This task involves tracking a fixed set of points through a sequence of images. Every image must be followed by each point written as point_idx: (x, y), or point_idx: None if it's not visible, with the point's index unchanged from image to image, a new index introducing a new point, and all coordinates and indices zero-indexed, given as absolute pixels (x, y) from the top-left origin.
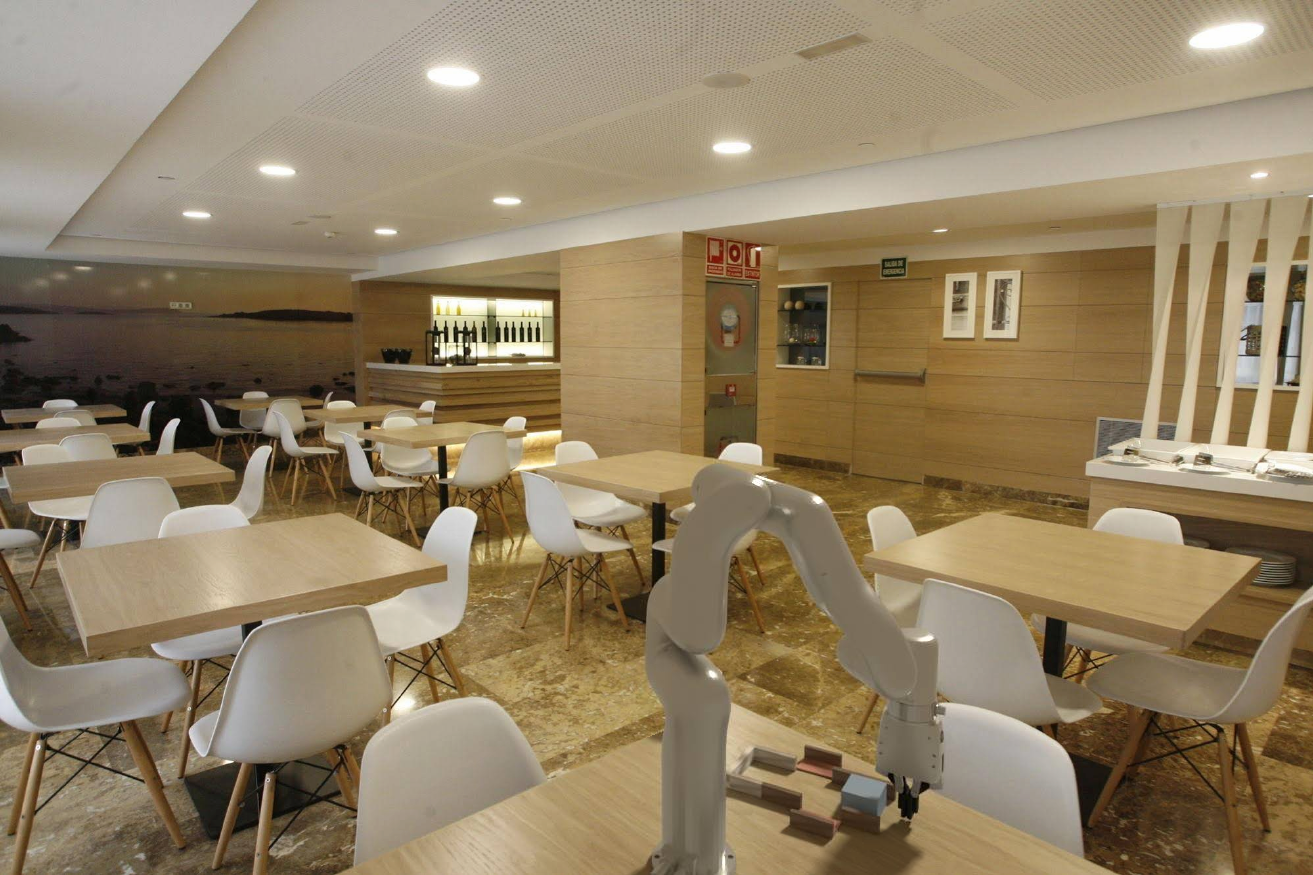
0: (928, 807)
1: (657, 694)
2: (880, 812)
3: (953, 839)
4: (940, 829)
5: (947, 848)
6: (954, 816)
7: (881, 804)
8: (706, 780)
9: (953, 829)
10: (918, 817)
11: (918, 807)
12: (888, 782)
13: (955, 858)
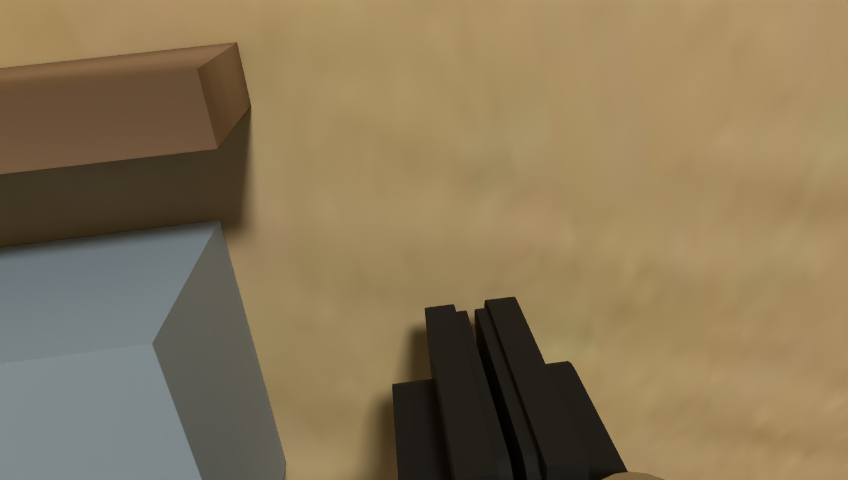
0: (567, 25)
1: None
2: (259, 407)
3: (791, 330)
4: (700, 278)
5: (753, 428)
6: (806, 27)
7: (244, 429)
8: None
9: (793, 221)
10: (521, 234)
11: (572, 373)
12: (99, 118)
13: (798, 475)
